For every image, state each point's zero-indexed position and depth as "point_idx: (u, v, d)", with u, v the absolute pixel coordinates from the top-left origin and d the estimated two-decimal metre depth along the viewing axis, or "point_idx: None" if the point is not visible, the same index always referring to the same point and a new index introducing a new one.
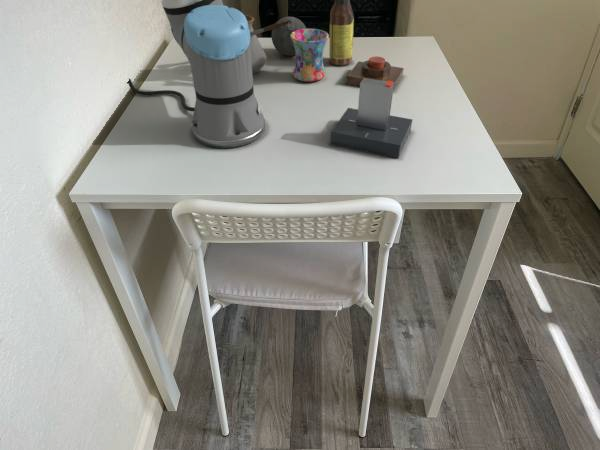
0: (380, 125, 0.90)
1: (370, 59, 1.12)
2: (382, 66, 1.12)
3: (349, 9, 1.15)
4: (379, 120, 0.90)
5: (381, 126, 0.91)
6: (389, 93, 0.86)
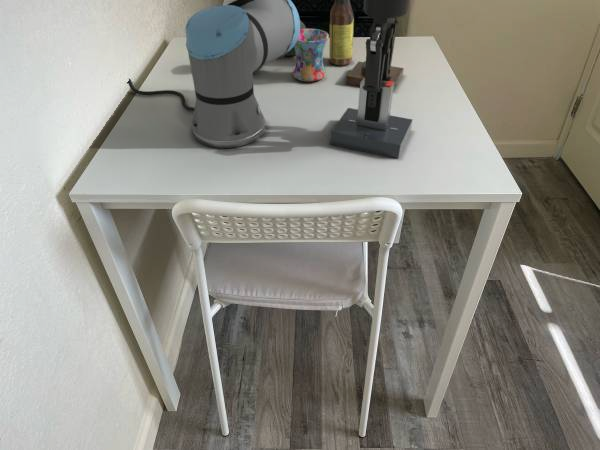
0: (380, 125, 0.90)
1: None
2: None
3: (349, 9, 1.15)
4: (379, 120, 0.90)
5: (381, 126, 0.91)
6: (389, 93, 0.86)
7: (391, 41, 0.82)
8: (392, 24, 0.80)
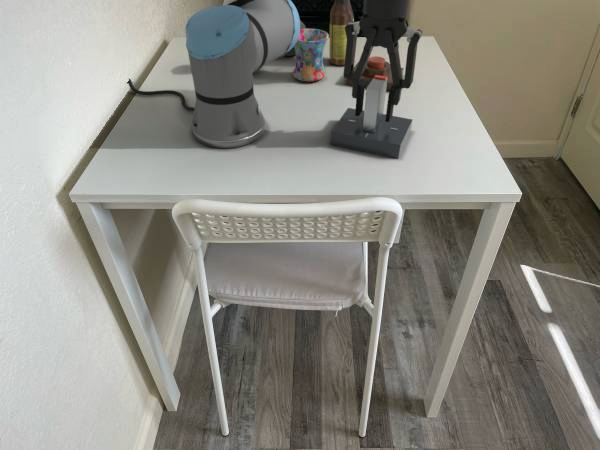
0: (381, 117, 0.93)
1: (370, 59, 1.12)
2: (382, 66, 1.12)
3: (349, 9, 1.15)
4: (381, 114, 0.92)
5: (381, 118, 0.93)
6: (386, 83, 0.89)
7: None
8: None
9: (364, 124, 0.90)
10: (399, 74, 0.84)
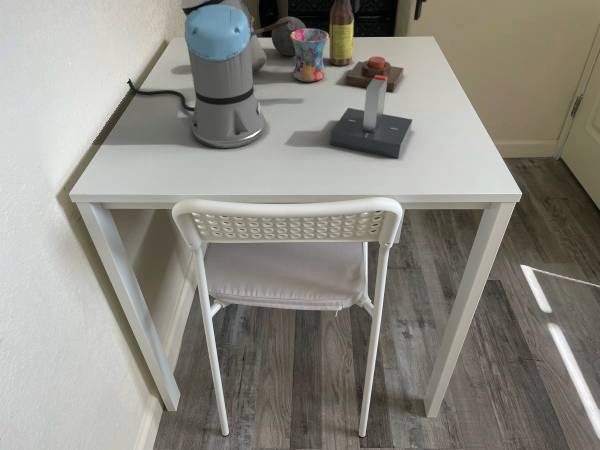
0: (381, 117, 0.93)
1: (370, 59, 1.12)
2: (382, 66, 1.12)
3: (349, 9, 1.15)
4: (381, 114, 0.92)
5: (381, 118, 0.93)
6: (386, 83, 0.89)
7: None
8: None
9: (364, 124, 0.90)
10: None
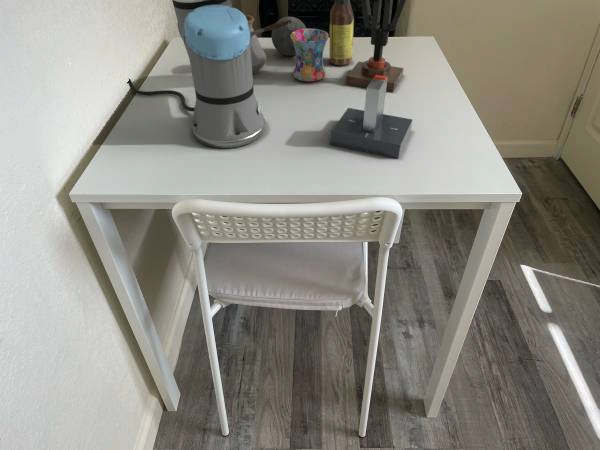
0: (381, 117, 0.93)
1: (370, 59, 1.12)
2: (382, 66, 1.12)
3: (349, 9, 1.15)
4: (381, 114, 0.92)
5: (381, 118, 0.93)
6: (386, 83, 0.89)
7: None
8: None
9: (364, 124, 0.90)
10: (389, 20, 1.05)
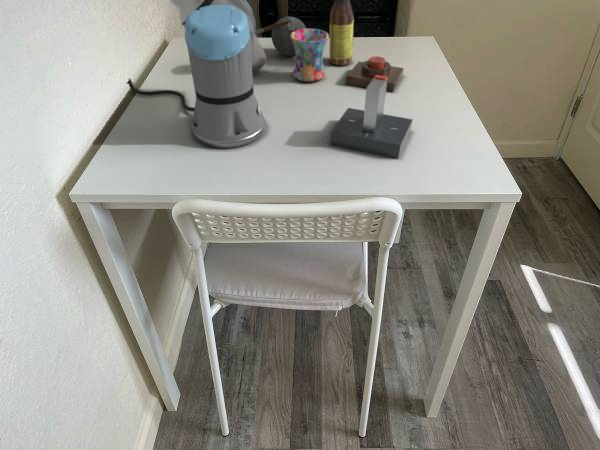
0: (381, 117, 0.93)
1: (370, 59, 1.12)
2: (382, 66, 1.12)
3: (349, 9, 1.15)
4: (381, 114, 0.92)
5: (381, 118, 0.93)
6: (386, 83, 0.89)
7: None
8: None
9: (364, 124, 0.90)
10: None
